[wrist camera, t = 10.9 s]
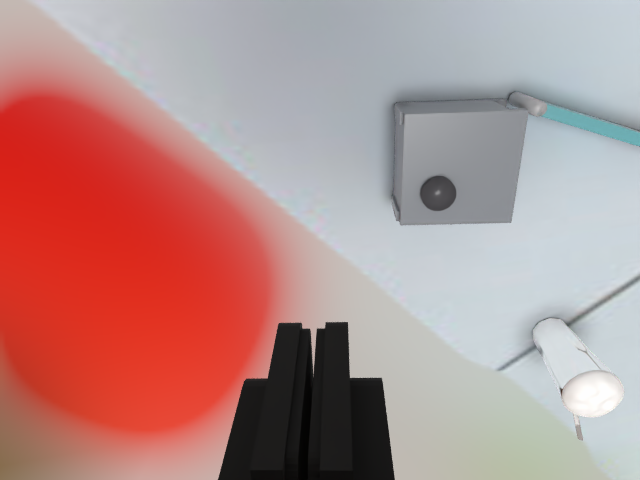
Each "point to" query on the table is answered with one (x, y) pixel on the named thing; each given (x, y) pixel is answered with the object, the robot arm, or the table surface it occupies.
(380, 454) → the robot arm
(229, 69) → the table surface
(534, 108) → the door
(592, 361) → the milkshake
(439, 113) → the camera case
